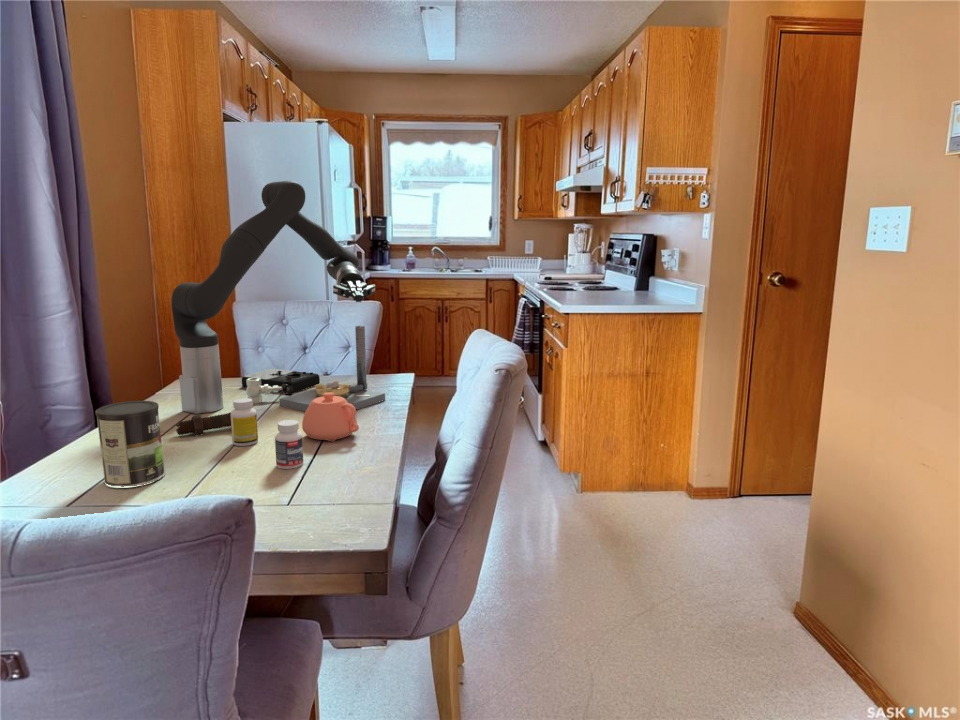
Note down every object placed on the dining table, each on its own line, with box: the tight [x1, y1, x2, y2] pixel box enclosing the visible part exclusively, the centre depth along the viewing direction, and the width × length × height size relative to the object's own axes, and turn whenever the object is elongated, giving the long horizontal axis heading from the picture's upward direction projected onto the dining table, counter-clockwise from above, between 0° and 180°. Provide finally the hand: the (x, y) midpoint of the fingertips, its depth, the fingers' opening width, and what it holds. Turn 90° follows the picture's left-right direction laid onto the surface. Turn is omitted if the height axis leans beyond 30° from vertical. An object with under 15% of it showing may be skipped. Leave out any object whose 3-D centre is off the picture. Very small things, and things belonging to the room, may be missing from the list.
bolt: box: [174, 411, 232, 436], centre depth 149 cm, size 6×5×15 cm
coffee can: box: [95, 400, 166, 487], centre depth 119 cm, size 10×10×14 cm
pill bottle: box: [274, 419, 304, 470], centre depth 127 cm, size 5×5×9 cm
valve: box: [245, 376, 294, 404], centre depth 177 cm, size 7×7×12 cm
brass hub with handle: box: [314, 325, 368, 398], centre depth 175 cm, size 15×9×18 cm, turn 135°
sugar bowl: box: [301, 392, 360, 442], centre depth 145 cm, size 12×14×10 cm
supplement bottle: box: [230, 397, 259, 447], centre depth 141 cm, size 5×5×10 cm
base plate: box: [279, 388, 386, 412], centre depth 174 cm, size 20×20×2 cm
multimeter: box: [241, 368, 321, 394], centre depth 194 cm, size 13×19×5 cm
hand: (359, 298), depth 180 cm, fingers closed
